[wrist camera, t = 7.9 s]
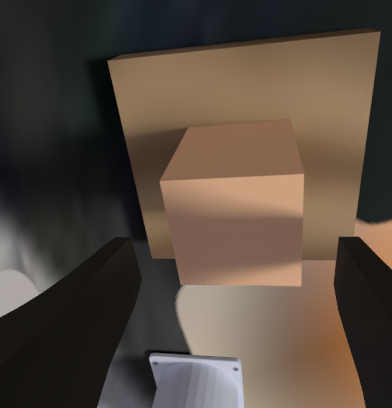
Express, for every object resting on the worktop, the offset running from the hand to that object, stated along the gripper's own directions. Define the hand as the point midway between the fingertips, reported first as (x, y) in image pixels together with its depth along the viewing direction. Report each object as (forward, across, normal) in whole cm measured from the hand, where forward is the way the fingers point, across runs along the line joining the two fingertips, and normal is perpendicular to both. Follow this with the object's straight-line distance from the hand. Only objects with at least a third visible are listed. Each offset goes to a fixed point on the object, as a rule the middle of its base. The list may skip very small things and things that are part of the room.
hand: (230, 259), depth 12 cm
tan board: (+9, 0, 0) cm, 9 cm away
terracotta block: (+7, 0, 0) cm, 7 cm away
